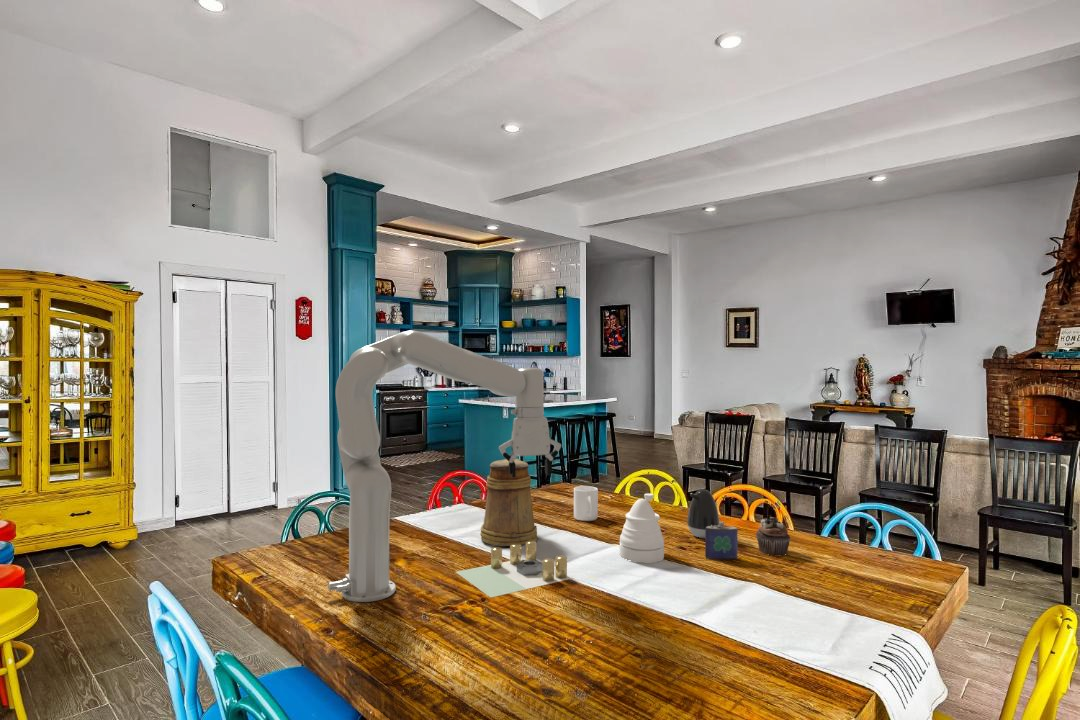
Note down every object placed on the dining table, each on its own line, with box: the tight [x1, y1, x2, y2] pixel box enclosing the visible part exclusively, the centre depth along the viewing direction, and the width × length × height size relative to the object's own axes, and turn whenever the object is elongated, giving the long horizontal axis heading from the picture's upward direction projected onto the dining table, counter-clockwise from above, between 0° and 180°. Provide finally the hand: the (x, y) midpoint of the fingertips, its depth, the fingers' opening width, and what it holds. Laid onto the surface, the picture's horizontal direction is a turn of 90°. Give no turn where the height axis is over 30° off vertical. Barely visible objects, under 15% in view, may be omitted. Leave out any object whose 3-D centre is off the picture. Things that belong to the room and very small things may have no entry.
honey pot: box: [619, 493, 665, 563], centre depth 178 cm, size 13×13×18 cm
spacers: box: [490, 540, 568, 582], centre depth 162 cm, size 14×18×5 cm
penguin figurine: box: [686, 488, 721, 539], centre depth 197 cm, size 10×10×15 cm
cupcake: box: [755, 517, 791, 556], centre depth 182 cm, size 10×10×10 cm
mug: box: [573, 485, 599, 522], centre depth 217 cm, size 9×12×11 cm
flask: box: [704, 521, 739, 561], centre depth 176 cm, size 9×3×11 cm, turn 87°
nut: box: [517, 558, 543, 576], centre depth 162 cm, size 6×7×2 cm
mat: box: [455, 557, 573, 598], centre depth 159 cm, size 24×20×1 cm
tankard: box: [480, 458, 538, 547], centre depth 195 cm, size 18×24×25 cm
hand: (530, 475), depth 166 cm, fingers open, 9 cm apart
